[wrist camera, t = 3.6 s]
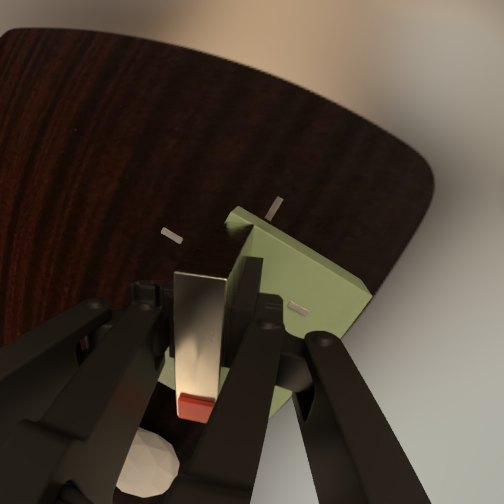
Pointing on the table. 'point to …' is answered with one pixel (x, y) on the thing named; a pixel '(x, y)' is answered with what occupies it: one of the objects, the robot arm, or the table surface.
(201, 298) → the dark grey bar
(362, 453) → the robot arm
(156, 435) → the perfume bottle
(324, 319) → the clamp block
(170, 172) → the table surface
